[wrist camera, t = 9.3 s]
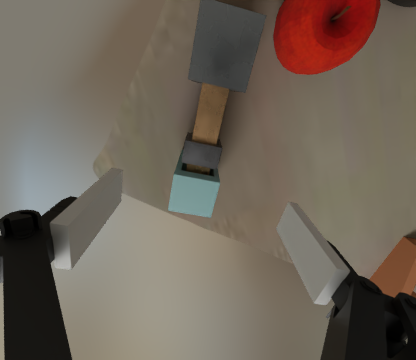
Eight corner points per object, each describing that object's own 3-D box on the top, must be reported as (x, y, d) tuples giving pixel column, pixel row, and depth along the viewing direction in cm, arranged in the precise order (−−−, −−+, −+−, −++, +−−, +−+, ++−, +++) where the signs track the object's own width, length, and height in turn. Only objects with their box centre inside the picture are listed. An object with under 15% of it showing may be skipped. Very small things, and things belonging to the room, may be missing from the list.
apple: (345, 20, 28) (437, -23, 17) (302, 89, 32) (355, 91, 21) (287, -22, 26) (348, -102, 15) (248, 57, 30) (274, 39, 19)
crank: (382, 299, 54) (409, 331, 47) (355, 295, 53) (379, 327, 46) (432, 241, 46) (475, 270, 39) (402, 235, 45) (440, 264, 38)
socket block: (182, 149, 36) (173, 174, 26) (215, 156, 36) (220, 182, 26) (177, 177, 38) (168, 210, 28) (208, 183, 38) (210, 217, 28)
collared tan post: (200, 63, 26) (199, 59, 22) (235, 72, 27) (242, 70, 22) (180, 175, 33) (176, 188, 28) (209, 180, 33) (210, 195, 29)
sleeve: (201, 26, 28) (201, -4, 19) (245, 38, 29) (266, 15, 20) (192, 81, 31) (187, 78, 22) (232, 91, 32) (245, 92, 22)
